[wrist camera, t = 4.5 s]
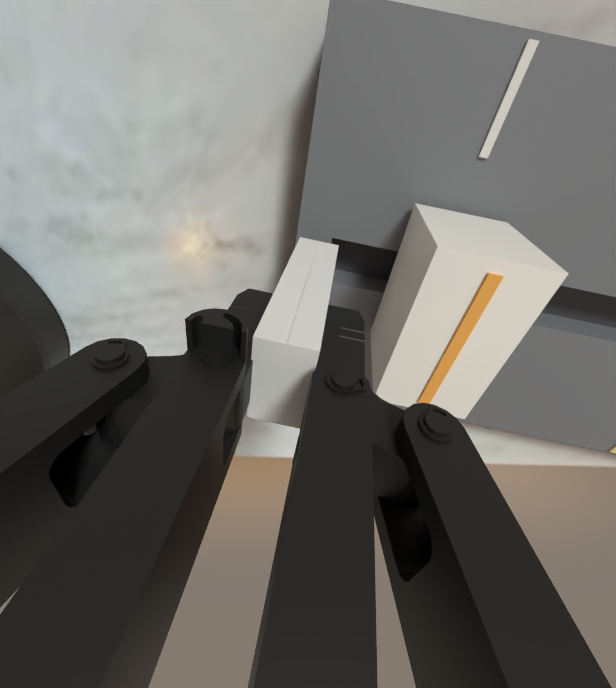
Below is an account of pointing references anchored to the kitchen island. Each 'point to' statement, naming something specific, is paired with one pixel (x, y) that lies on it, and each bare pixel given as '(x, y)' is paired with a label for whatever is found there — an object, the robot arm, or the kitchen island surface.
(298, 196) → the kitchen island surface
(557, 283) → the fader tab
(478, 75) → the console
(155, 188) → the kitchen island surface
